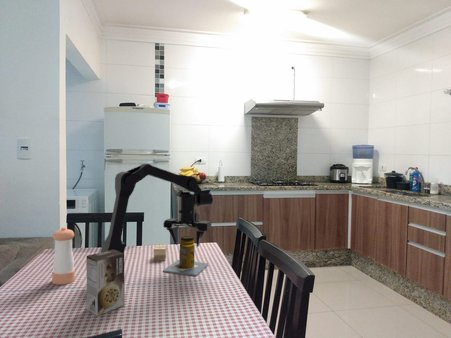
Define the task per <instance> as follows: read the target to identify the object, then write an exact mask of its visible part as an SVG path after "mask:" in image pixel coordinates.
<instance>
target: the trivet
mask: <svg viewBox="0 0 451 338" xmlns="http://www.w3.org/2000/svg"><path fill="white" fill-rule="evenodd" d="M177 264H179V259H177V260H175V261H174V262H173V263H171V264H170V265H169V266H167V267H166V268H164V269H162V272H163V273H169V274H176V275H177V274H178V275H184V276H190V277H191V276H192V277H197V276H198V275H200V274H201V273H202V272H203V271H204V270H203V269H204V268H205V267H206V266H207V267H208V266H209V265H208V264H210V263H209V262H208V263H207V262H199V261H194V265H197V266H198V267H195V268H192V269H188V270H184V271H181V270H177V269H176V268H174V267H172V266H173V265H177ZM207 267H206V268H207ZM206 268H205V269H206Z"/></svg>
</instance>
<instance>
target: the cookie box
mask: <svg viewBox="0 0 451 338" xmlns="http://www.w3.org/2000/svg"><path fill="white" fill-rule="evenodd" d="M125 288H126V287H125V252H124V253H121V252H119V251H117V250H109V251H104V252H101V251H99V252H97V253H93V254H89V255H88V254H87V255H86V310H88V311H89V312H90V313H93V314H94V315H95V316H101V315H103V314H106V313H108V312H110V311H113V310H116V309H119V308H121V307H123V306H125V300H126V299H125V295H126V294H125Z"/></svg>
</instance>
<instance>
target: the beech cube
mask: <svg viewBox="0 0 451 338" xmlns="http://www.w3.org/2000/svg"><path fill="white" fill-rule="evenodd" d="M167 247H168V245H155V246H154V248H153V261H166V258H167V249H168V248H167Z"/></svg>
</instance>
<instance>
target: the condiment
mask: <svg viewBox="0 0 451 338" xmlns="http://www.w3.org/2000/svg"><path fill="white" fill-rule="evenodd" d="M195 245H196V244H195V237H194V236H191V235H183V236H181V237H180V243H179V259H178V260H179V264H177V265H173V266H172V267H174V268H176V269H177V270H181V271H184V270H188V269H192V268H195V267H198V266H197V265H194V262H195V249H196V247H195Z"/></svg>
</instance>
